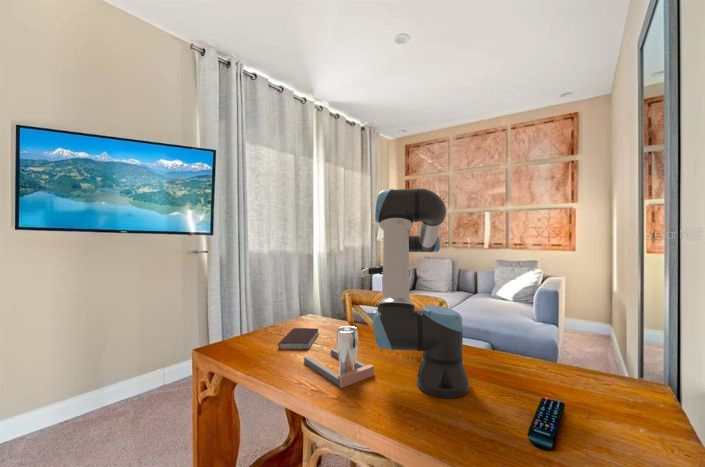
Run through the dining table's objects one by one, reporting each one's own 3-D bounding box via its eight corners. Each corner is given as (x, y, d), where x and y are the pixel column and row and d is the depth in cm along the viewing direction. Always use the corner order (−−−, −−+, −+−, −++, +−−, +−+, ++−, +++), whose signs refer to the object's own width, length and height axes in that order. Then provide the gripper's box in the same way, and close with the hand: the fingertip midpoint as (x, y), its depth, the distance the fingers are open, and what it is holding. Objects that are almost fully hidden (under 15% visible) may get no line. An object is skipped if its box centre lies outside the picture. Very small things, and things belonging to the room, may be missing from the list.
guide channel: (374, 375, 105) (374, 366, 105) (341, 387, 97) (341, 378, 97) (334, 353, 123) (334, 345, 123) (304, 362, 115) (303, 354, 115)
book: (277, 350, 129) (277, 342, 129) (292, 334, 148) (292, 326, 148) (308, 351, 127) (308, 343, 127) (319, 334, 146) (319, 327, 146)
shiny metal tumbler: (359, 370, 108) (358, 326, 108) (357, 380, 102) (357, 332, 101) (338, 369, 109) (338, 325, 109) (335, 379, 102) (335, 332, 102)
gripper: (422, 277, 137) (411, 286, 118) (367, 275, 147) (348, 282, 127) (422, 260, 137) (411, 266, 117) (366, 258, 147) (348, 263, 127)
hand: (378, 274), depth 122 cm, fingers open, 13 cm apart
